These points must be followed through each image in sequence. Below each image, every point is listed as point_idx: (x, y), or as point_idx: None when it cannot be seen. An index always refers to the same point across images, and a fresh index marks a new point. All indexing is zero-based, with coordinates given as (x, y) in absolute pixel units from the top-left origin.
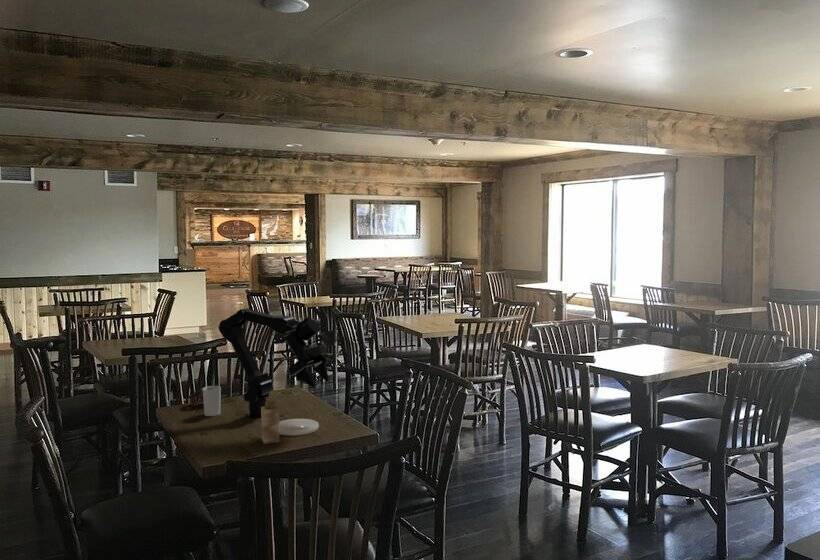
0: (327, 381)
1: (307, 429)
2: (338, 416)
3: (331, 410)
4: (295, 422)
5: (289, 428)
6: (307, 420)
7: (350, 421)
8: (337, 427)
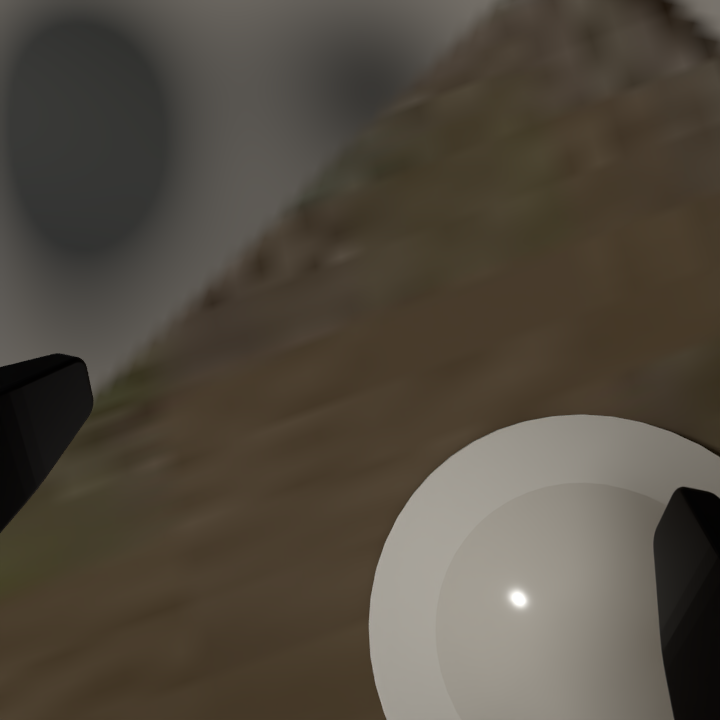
0: (84, 390)
1: (688, 478)
2: (174, 368)
3: None
4: (505, 675)
5: None
6: (413, 576)
7: (287, 227)
8: (464, 272)
